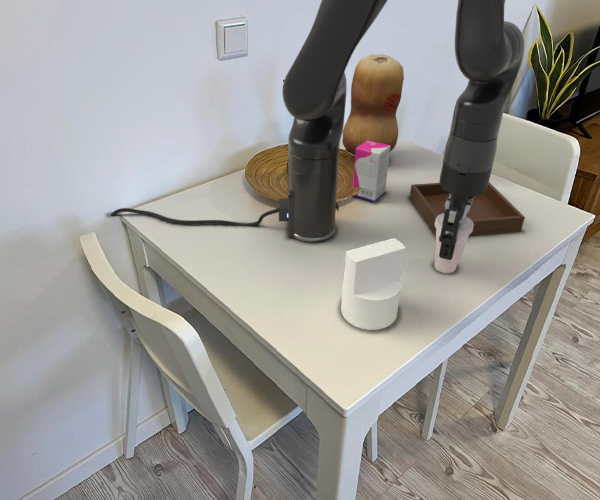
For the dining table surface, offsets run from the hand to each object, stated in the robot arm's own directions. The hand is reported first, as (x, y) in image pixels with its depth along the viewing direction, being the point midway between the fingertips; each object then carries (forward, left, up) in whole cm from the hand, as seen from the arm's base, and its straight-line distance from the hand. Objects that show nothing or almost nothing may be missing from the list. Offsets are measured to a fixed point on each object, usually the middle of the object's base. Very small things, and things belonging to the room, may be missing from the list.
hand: (450, 245), depth 90 cm
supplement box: (-11, +27, -5) cm, 30 cm away
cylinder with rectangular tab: (-15, -12, -5) cm, 20 cm away
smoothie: (0, 0, -5) cm, 5 cm away
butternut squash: (-9, +46, -5) cm, 47 cm away
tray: (+8, +19, -5) cm, 21 cm away
